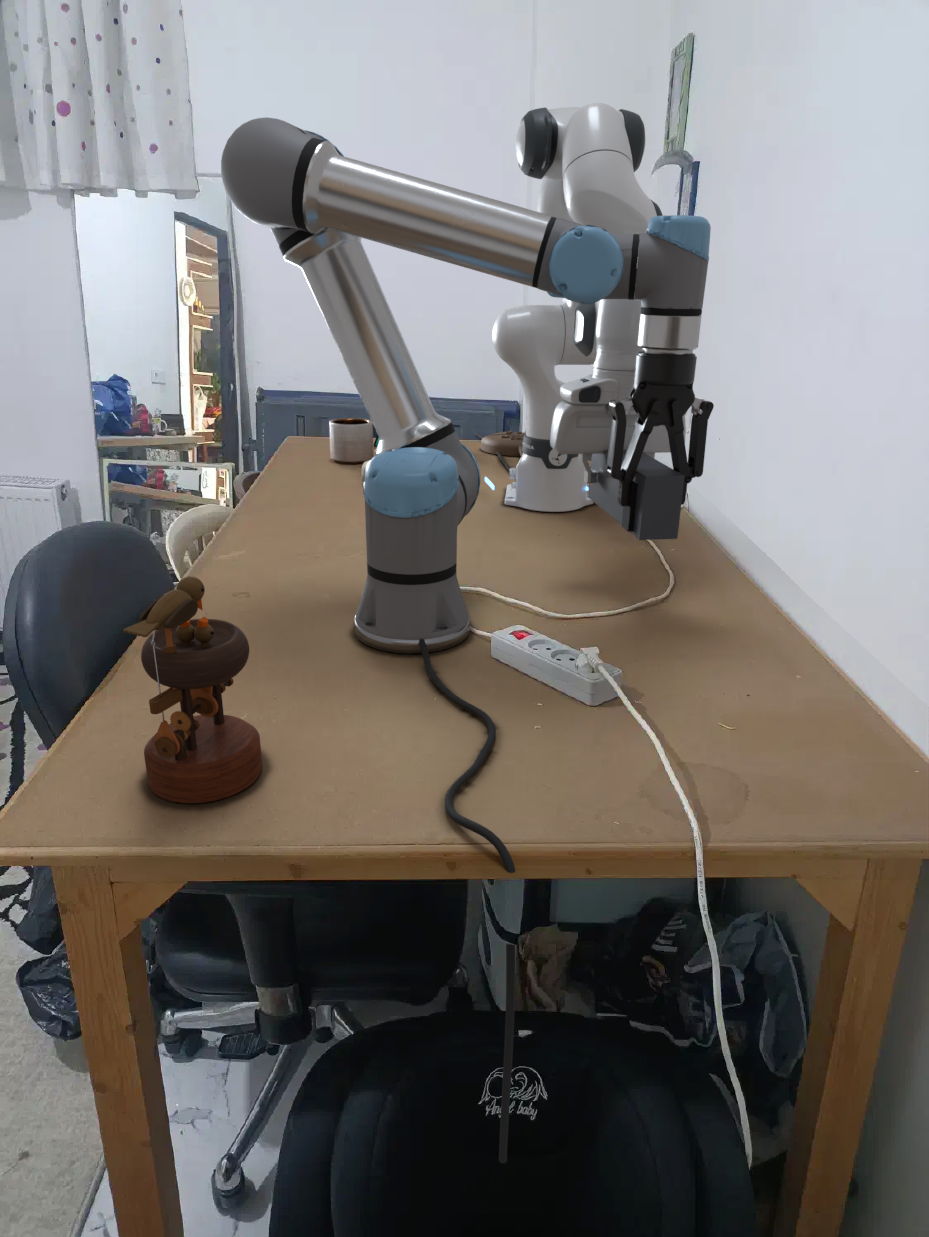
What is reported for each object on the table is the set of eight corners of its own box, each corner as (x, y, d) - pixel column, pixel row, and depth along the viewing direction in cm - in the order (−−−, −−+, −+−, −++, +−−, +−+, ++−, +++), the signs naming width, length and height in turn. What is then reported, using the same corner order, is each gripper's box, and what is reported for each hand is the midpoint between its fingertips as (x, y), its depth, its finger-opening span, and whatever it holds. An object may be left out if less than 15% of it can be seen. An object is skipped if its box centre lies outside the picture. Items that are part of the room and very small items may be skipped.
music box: (239, 818, 74) (196, 604, 66) (121, 817, 75) (65, 608, 68) (291, 731, 88) (261, 546, 80) (191, 731, 89) (151, 550, 82)
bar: (677, 539, 113) (684, 475, 109) (639, 540, 112) (645, 476, 109) (620, 496, 134) (625, 442, 131) (588, 497, 133) (592, 442, 130)
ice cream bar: (486, 465, 210) (486, 448, 209) (479, 444, 236) (479, 428, 235) (570, 465, 211) (571, 449, 210) (554, 444, 237) (554, 429, 236)
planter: (327, 456, 217) (325, 418, 214) (369, 454, 220) (368, 417, 217) (334, 465, 208) (332, 425, 204) (377, 463, 211) (376, 424, 207)
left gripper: (722, 348, 112) (700, 519, 120) (588, 348, 109) (575, 522, 118) (748, 354, 105) (723, 534, 114) (606, 353, 102) (591, 538, 111)
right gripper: (681, 385, 128) (671, 476, 133) (549, 386, 125) (544, 478, 130) (698, 391, 122) (687, 485, 127) (561, 391, 119) (555, 488, 124)
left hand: (648, 527), depth 116 cm, fingers closed on bar, 5 cm apart
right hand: (614, 482), depth 129 cm, fingers open, 6 cm apart
